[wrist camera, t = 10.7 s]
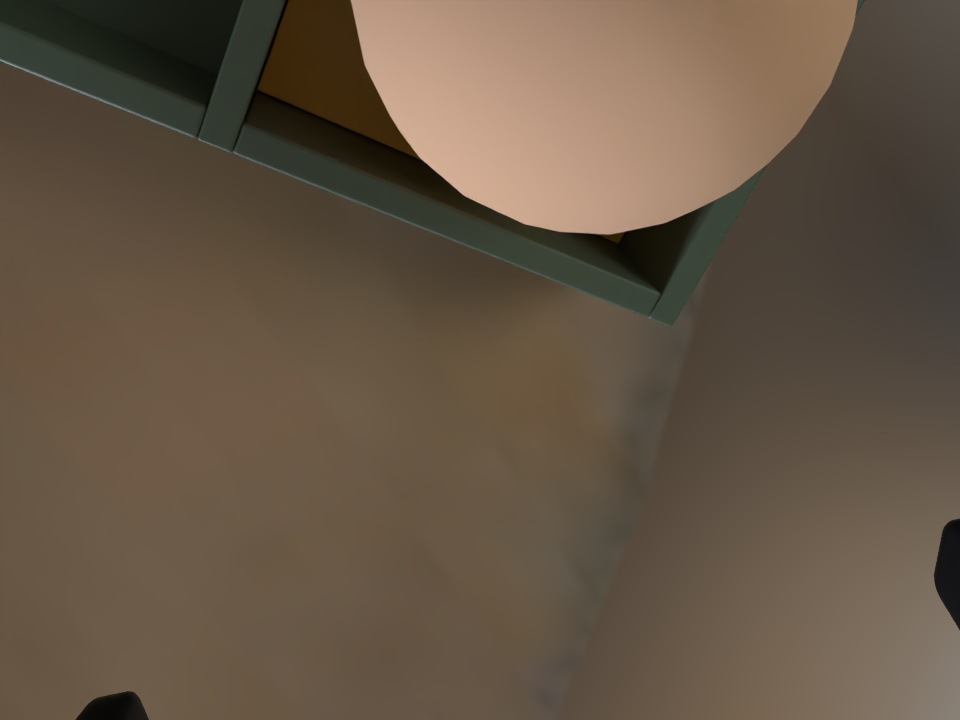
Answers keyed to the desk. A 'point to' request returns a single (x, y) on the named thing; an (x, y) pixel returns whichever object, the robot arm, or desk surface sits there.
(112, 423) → the desk surface
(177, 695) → the desk surface
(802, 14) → the egg
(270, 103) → the carton
